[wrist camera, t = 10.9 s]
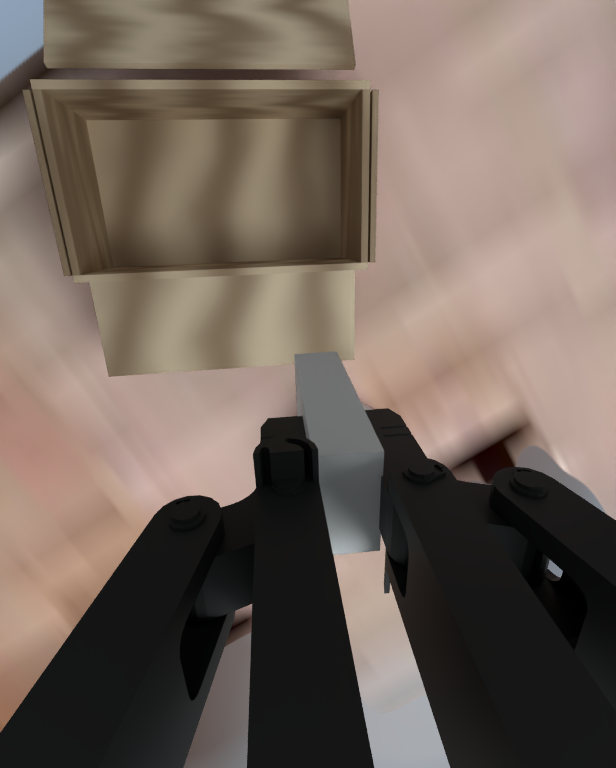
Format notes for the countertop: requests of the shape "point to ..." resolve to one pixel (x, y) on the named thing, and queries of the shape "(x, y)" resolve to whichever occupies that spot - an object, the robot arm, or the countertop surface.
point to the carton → (211, 213)
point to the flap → (198, 34)
